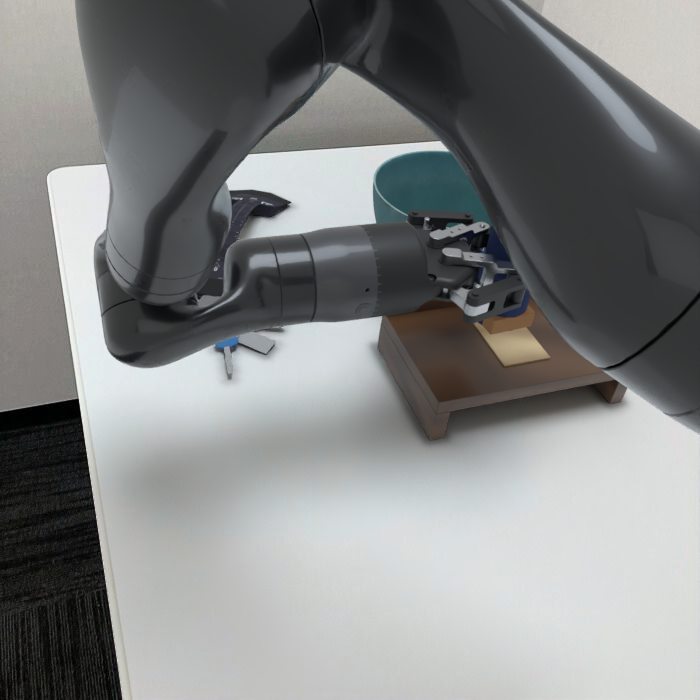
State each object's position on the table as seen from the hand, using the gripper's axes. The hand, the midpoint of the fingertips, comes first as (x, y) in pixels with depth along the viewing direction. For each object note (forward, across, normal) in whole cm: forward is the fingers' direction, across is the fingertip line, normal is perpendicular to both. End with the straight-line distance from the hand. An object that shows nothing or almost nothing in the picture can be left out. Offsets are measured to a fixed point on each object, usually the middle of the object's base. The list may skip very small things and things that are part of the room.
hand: (540, 251), depth 67 cm
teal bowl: (+3, +22, +18) cm, 28 cm away
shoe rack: (+2, +4, +18) cm, 18 cm away
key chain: (-22, +16, +18) cm, 33 cm away
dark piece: (-20, +33, +18) cm, 42 cm away
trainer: (-3, +2, +7) cm, 7 cm away
